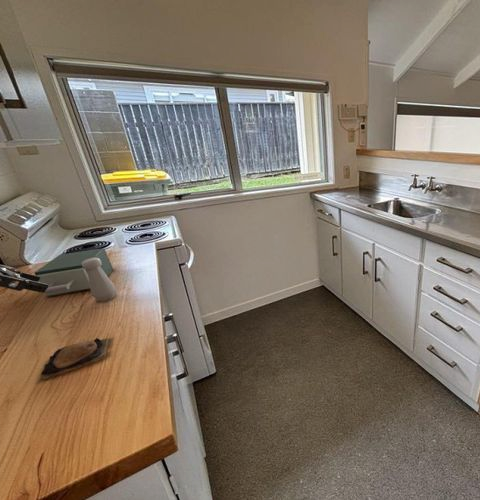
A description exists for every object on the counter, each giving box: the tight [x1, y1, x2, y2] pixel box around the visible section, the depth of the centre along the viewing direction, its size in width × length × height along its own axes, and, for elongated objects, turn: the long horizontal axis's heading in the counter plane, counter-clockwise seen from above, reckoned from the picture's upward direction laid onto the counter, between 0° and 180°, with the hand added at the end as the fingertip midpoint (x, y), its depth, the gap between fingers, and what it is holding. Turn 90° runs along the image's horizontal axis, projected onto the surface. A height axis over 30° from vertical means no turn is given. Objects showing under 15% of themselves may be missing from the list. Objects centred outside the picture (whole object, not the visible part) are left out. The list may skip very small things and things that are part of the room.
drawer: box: [37, 268, 90, 297], centre depth 91 cm, size 19×12×7 cm, turn 21°
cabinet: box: [34, 247, 114, 298], centre depth 95 cm, size 15×13×9 cm
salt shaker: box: [81, 258, 117, 302], centre depth 84 cm, size 6×6×13 cm
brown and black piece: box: [40, 337, 109, 381], centre depth 62 cm, size 11×8×4 cm
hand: (42, 284), depth 74 cm, fingers open, 8 cm apart
